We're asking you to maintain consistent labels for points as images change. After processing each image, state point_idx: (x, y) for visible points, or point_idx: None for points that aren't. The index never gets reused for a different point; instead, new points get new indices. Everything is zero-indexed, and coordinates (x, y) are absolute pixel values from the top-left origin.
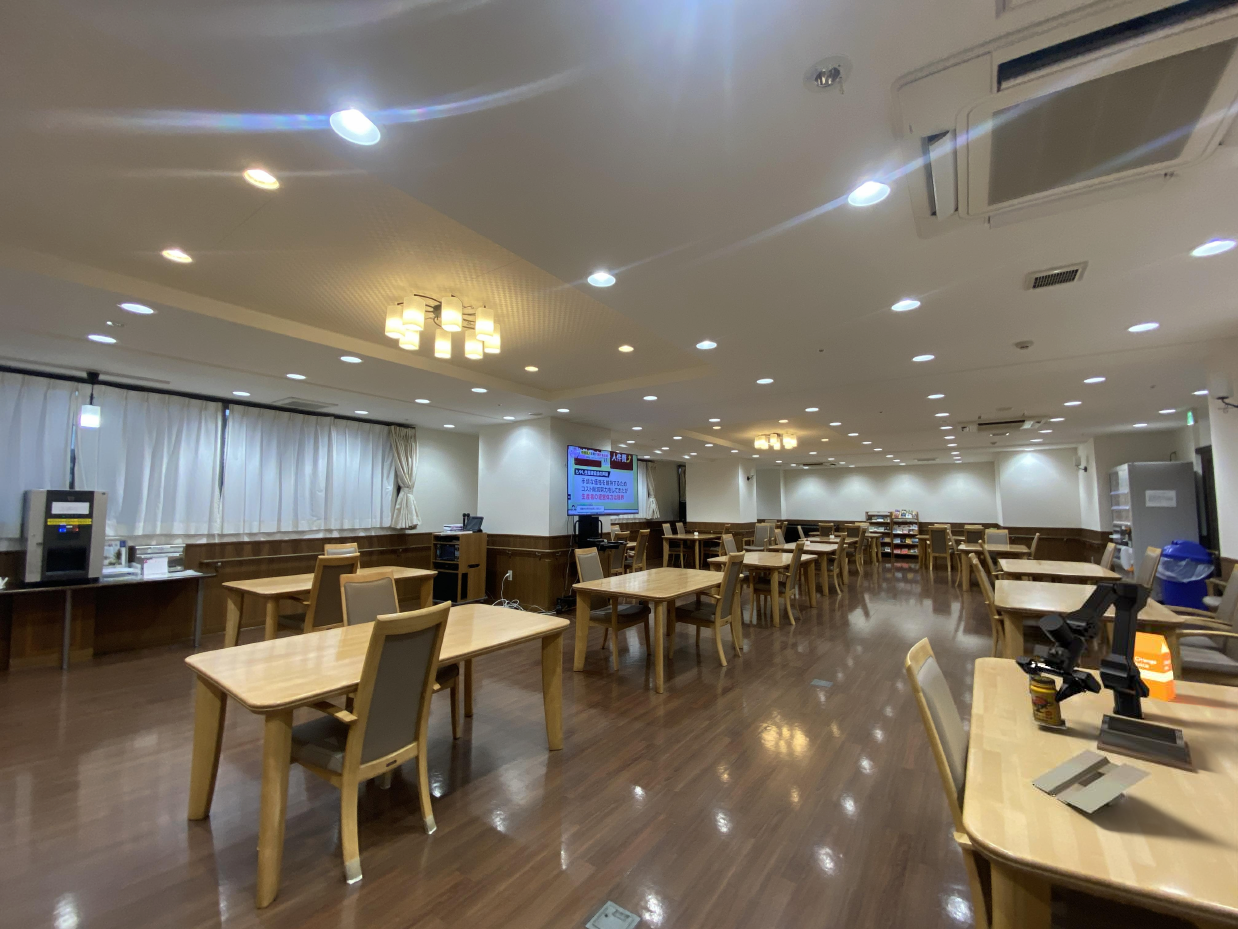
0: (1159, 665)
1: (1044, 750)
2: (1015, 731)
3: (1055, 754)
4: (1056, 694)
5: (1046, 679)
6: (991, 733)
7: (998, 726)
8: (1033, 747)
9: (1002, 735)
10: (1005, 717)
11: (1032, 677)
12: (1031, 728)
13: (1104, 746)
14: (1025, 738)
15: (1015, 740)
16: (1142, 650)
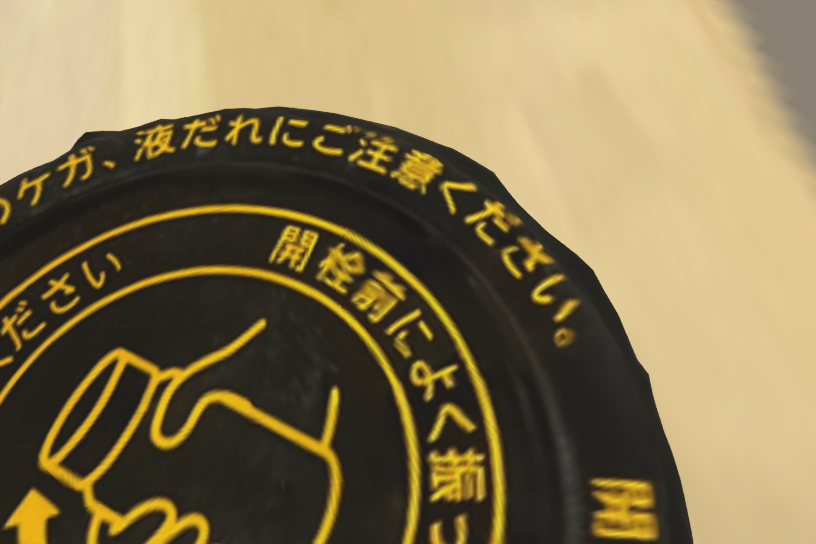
0: None
1: (342, 33)
2: (568, 208)
3: (287, 26)
4: None
5: (30, 381)
6: (653, 43)
7: (697, 212)
8: (397, 28)
9: (592, 65)
10: (799, 540)
11: (559, 261)
12: None
13: None
14: (472, 128)
15: (504, 49)
16: None
